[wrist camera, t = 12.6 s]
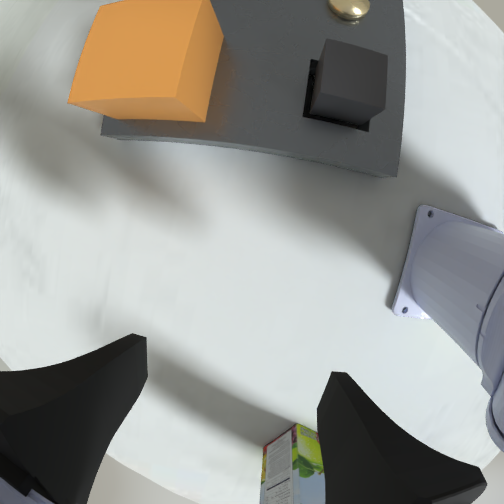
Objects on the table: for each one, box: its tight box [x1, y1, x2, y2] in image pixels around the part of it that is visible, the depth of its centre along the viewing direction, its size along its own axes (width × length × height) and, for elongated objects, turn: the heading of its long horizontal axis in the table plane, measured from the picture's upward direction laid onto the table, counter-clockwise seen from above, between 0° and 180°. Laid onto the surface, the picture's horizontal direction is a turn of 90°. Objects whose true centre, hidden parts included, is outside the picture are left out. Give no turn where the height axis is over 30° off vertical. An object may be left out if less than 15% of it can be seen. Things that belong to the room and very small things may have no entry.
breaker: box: [310, 38, 388, 126], centre depth 12 cm, size 3×3×4 cm
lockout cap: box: [68, 0, 224, 122], centre depth 11 cm, size 6×6×5 cm
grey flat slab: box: [101, 0, 406, 178], centre depth 13 cm, size 18×16×4 cm
